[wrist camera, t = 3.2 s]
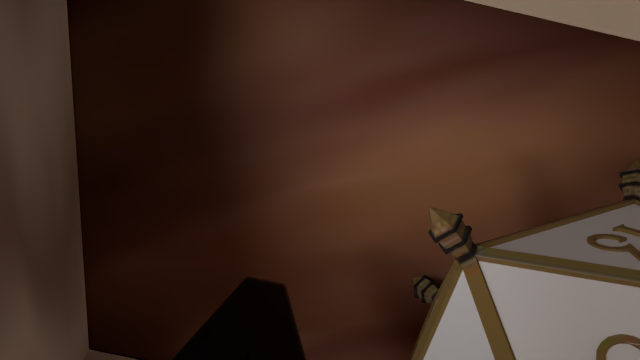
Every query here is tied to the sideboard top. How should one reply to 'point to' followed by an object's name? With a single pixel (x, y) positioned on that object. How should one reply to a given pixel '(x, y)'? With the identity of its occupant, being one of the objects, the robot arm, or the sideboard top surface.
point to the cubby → (62, 174)
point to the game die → (538, 288)
